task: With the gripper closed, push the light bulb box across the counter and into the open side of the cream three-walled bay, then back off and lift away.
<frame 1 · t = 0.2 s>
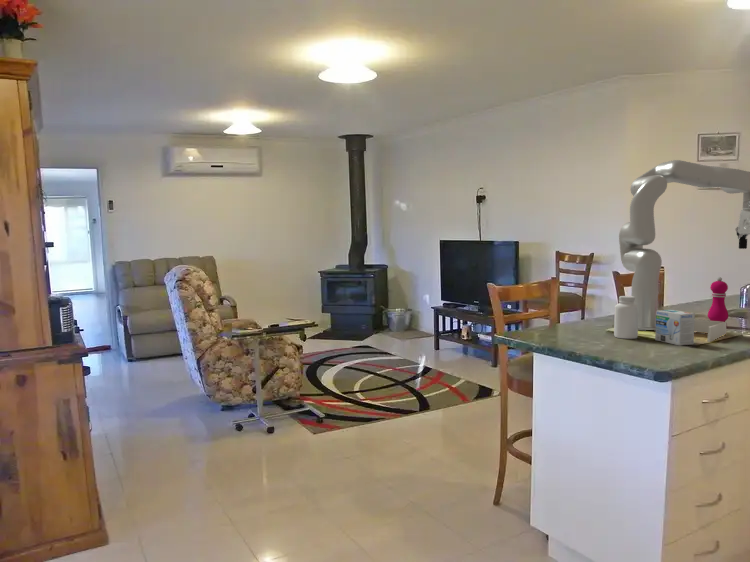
cream bay: (692, 335, 212), on the worktop
light bulb box: (674, 342, 201), on the worktop
pepper mill: (717, 327, 232), on the worktop
pill bottle: (625, 337, 211), on the worktop
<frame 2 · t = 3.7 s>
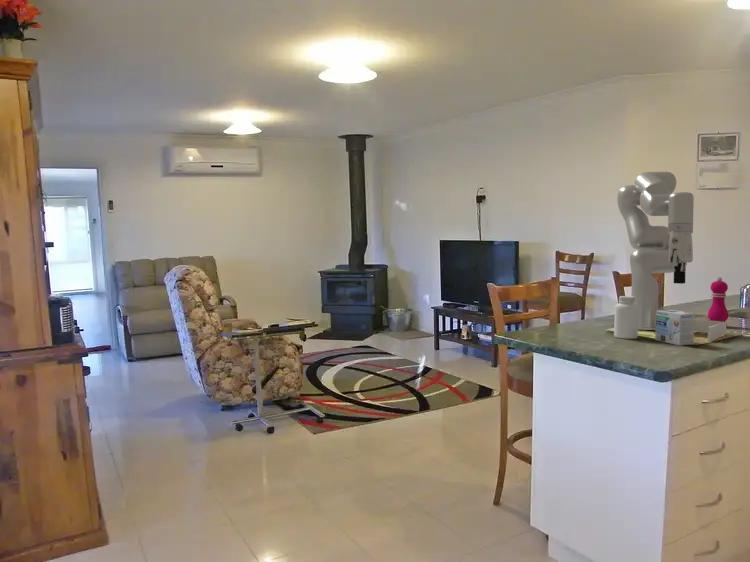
hand: (679, 283, 196), 21 cm above the worktop, tool pointing down, fingers closed
nothing on the worktop moved.
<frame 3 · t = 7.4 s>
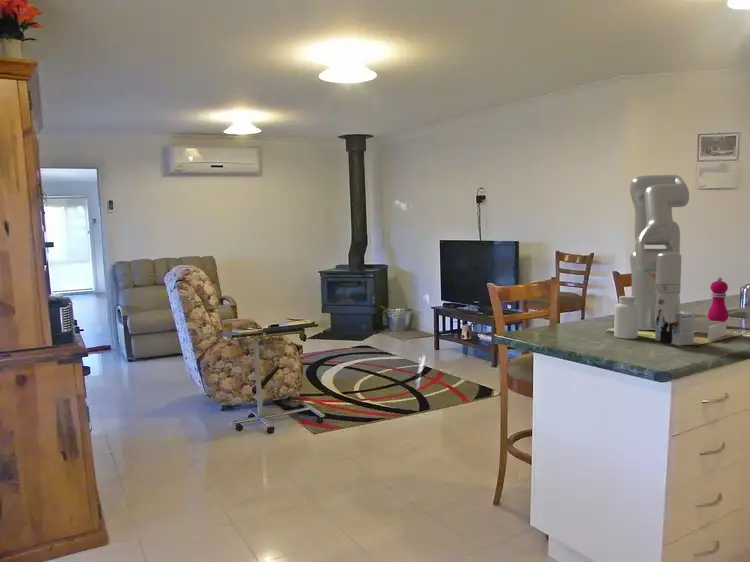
hand: (665, 342, 196), 1 cm above the worktop, tool pointing down, fingers closed
light bulb box: (674, 342, 201), on the worktop, touching gripper
everything else where it was.
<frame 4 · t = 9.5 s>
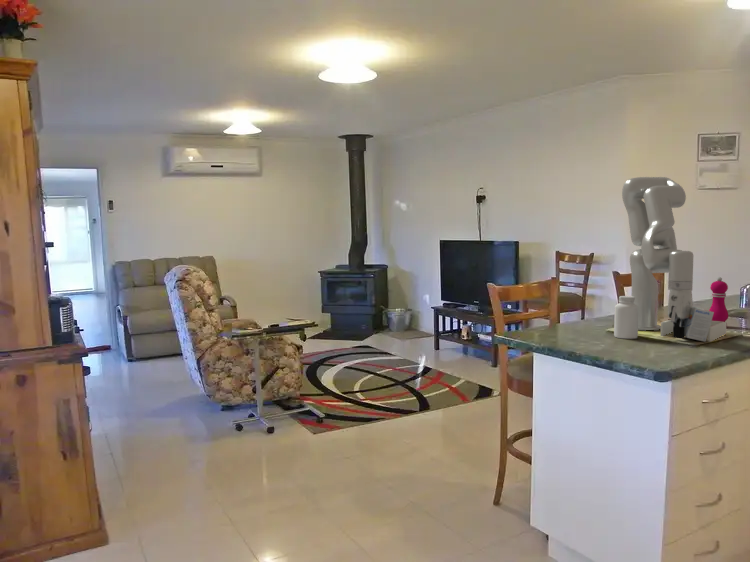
hand: (678, 337, 204), 1 cm above the worktop, tool pointing down, fingers closed
light bulb box: (689, 337, 206), point 1 cm above the worktop, touching cream bay, gripper
everything else where it was.
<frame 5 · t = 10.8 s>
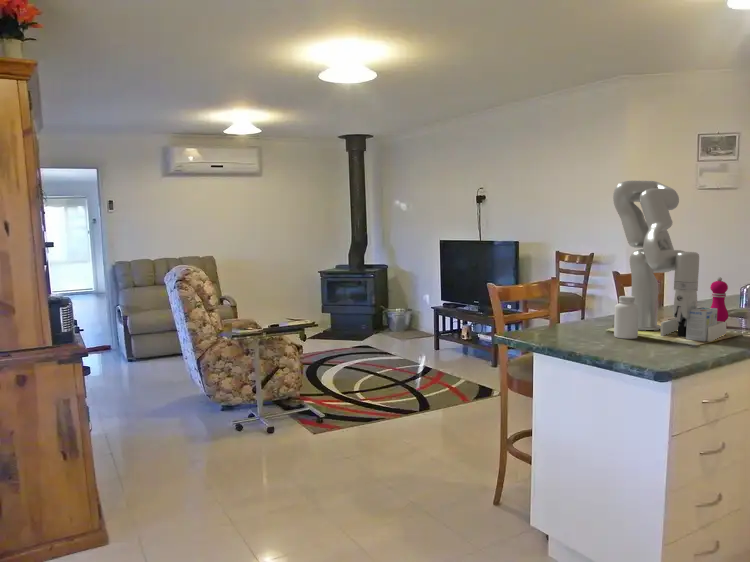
hand: (683, 336, 209), 0 cm above the worktop, tool pointing down, fingers closed
light bulb box: (701, 339, 207), on the worktop, touching cream bay, gripper
everything else where it was.
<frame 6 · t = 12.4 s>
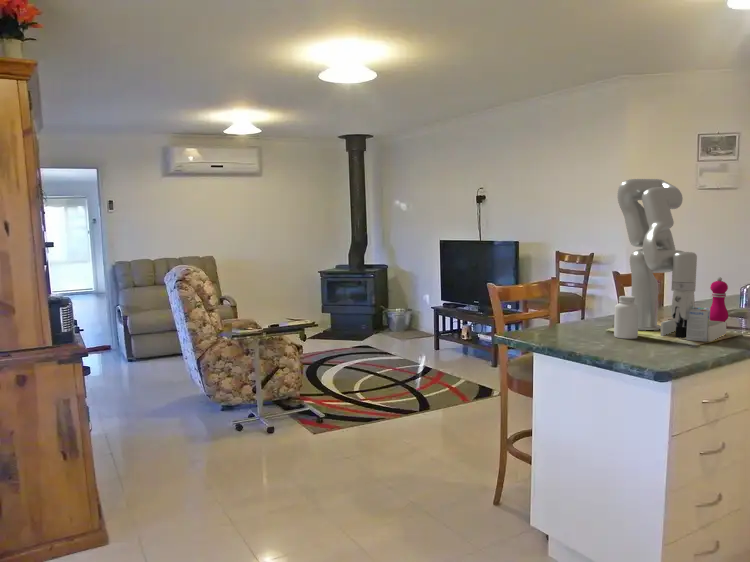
hand: (680, 337, 207), 0 cm above the worktop, tool pointing down, fingers closed
light bulb box: (697, 339, 207), on the worktop, touching cream bay, gripper
everything else where it was.
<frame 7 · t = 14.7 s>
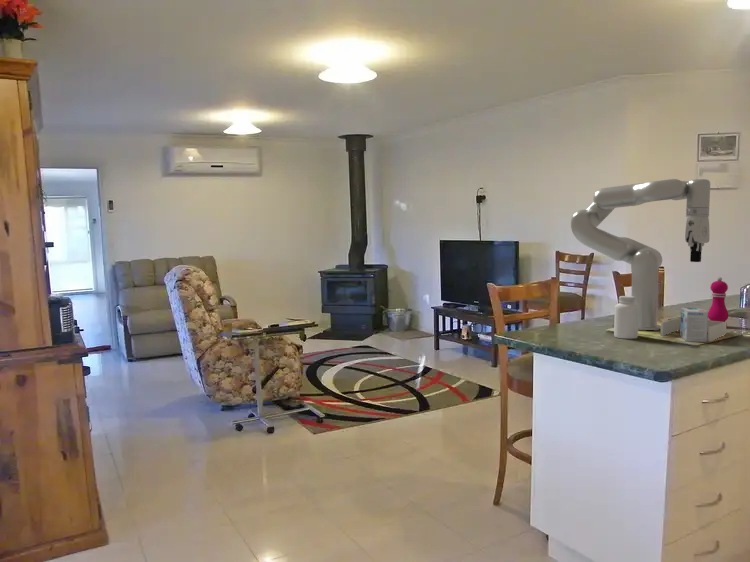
hand: (695, 261, 217), 27 cm above the worktop, tool pointing down, fingers closed
light bulb box: (693, 339, 206), on the worktop
everything else where it was.
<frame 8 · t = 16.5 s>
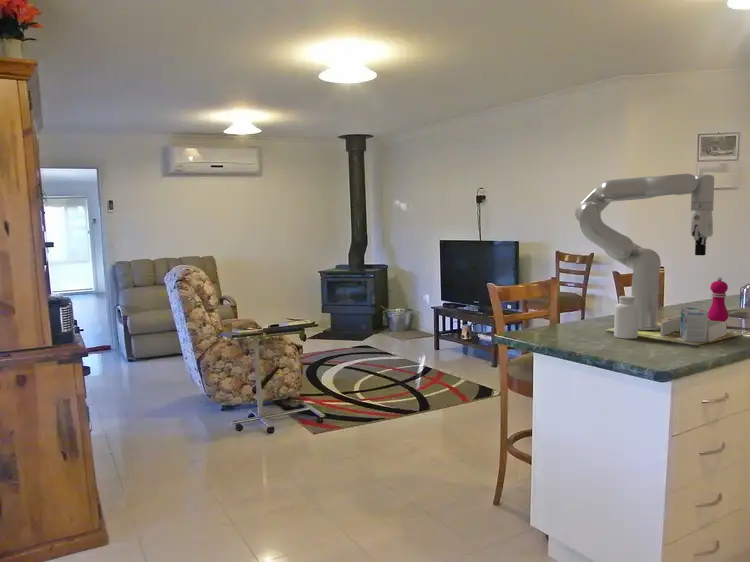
hand: (700, 255, 223), 29 cm above the worktop, tool pointing down, fingers closed
nothing on the worktop moved.
at the end: light bulb box inside the target area on the cream bay (6.9 cm from its centre), point 0.0 cm above the cream bay's base; light bulb box tilted 0°; light bulb box moved 11.2 cm from its start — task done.
